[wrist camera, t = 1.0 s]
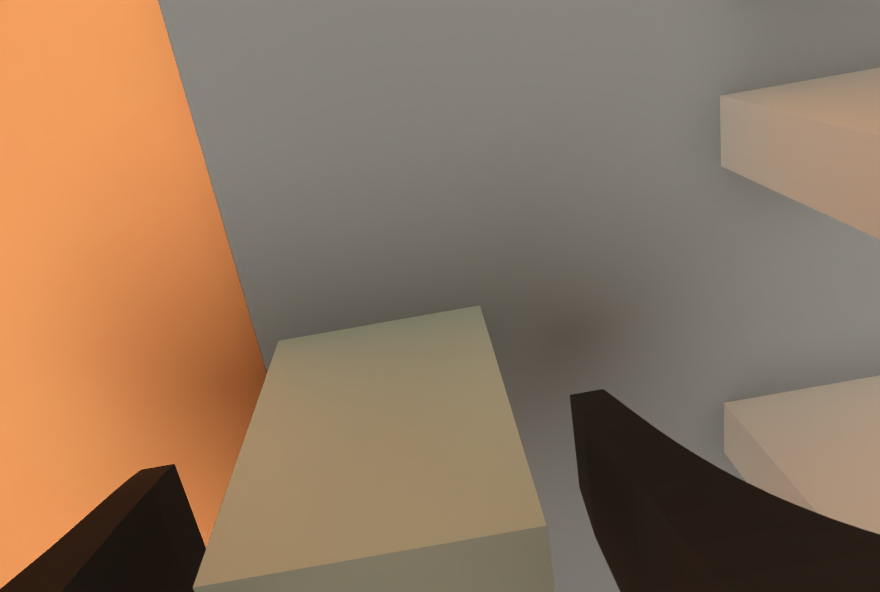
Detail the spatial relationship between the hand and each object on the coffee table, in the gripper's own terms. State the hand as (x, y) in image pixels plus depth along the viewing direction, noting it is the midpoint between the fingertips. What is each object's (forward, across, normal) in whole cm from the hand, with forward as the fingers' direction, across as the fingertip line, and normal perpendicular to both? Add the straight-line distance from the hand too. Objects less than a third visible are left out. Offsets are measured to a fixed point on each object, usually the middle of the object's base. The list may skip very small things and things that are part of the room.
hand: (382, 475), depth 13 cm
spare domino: (+5, 0, 0) cm, 5 cm away
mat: (+6, -6, +1) cm, 8 cm away
